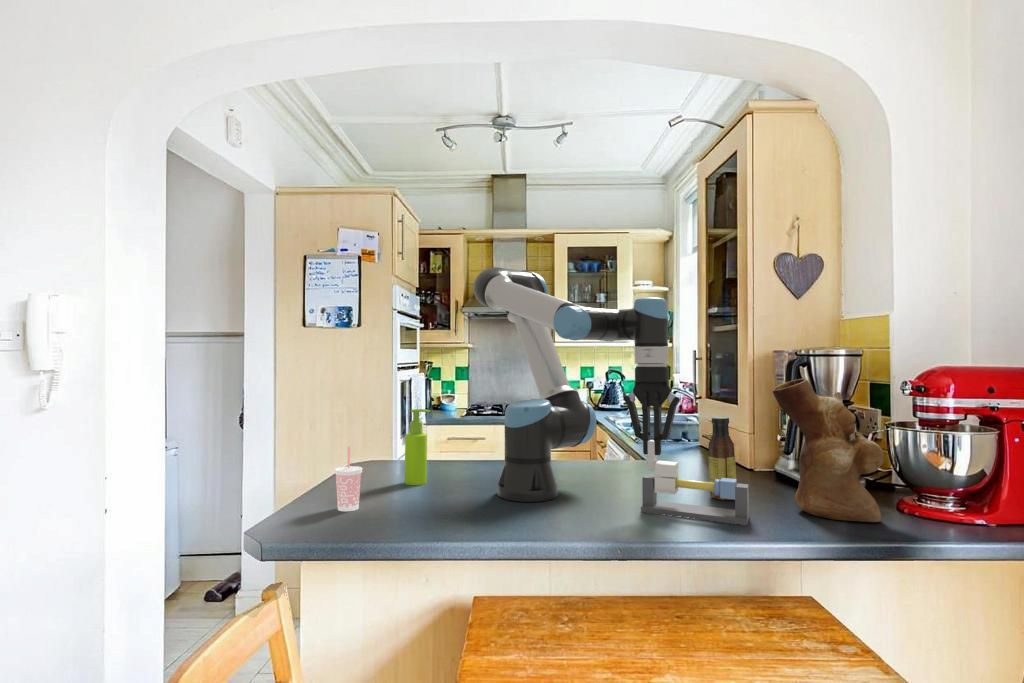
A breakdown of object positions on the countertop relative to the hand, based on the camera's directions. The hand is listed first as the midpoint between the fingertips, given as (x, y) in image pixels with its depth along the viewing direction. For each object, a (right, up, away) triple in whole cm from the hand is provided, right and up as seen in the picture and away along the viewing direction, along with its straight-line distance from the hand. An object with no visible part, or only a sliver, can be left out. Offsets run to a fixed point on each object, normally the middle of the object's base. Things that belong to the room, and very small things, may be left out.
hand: (652, 469), depth 129 cm
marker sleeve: (+3, -5, -1) cm, 6 cm away
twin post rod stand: (+8, -9, -4) cm, 13 cm away
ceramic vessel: (+38, -10, -3) cm, 39 cm away
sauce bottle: (+20, -10, +10) cm, 24 cm away
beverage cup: (-69, -9, 0) cm, 70 cm away
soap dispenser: (-58, -10, +25) cm, 64 cm away
